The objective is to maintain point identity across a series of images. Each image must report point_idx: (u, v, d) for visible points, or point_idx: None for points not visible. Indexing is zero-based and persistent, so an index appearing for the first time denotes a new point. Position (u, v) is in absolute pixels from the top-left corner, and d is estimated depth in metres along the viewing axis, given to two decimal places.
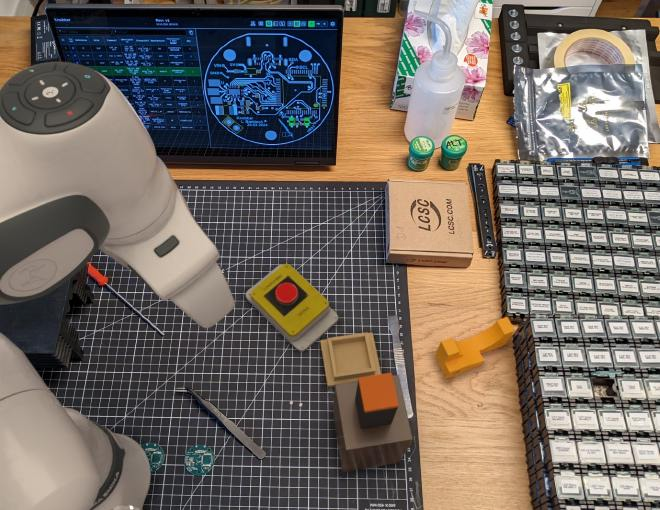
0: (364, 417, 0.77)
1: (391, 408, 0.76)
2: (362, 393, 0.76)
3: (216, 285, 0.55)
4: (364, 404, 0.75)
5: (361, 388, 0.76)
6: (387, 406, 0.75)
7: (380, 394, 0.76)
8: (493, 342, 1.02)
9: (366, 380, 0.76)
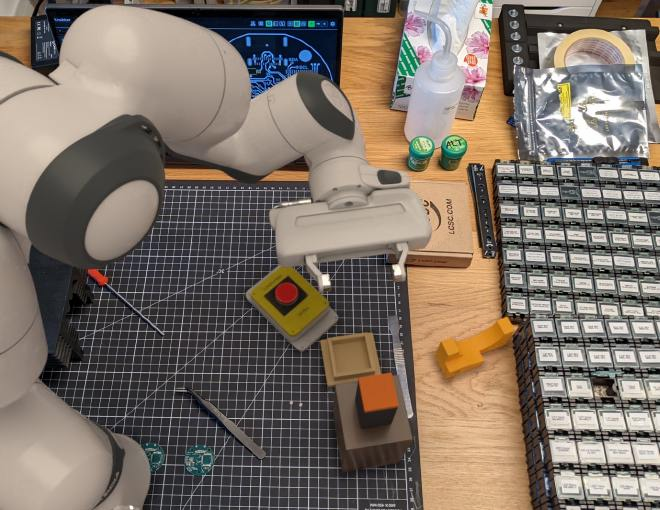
0: (364, 417, 0.77)
1: (391, 408, 0.76)
2: (362, 393, 0.76)
3: None
4: (364, 404, 0.75)
5: (361, 388, 0.76)
6: (387, 406, 0.75)
7: (380, 394, 0.76)
8: (493, 342, 1.02)
9: (366, 380, 0.76)
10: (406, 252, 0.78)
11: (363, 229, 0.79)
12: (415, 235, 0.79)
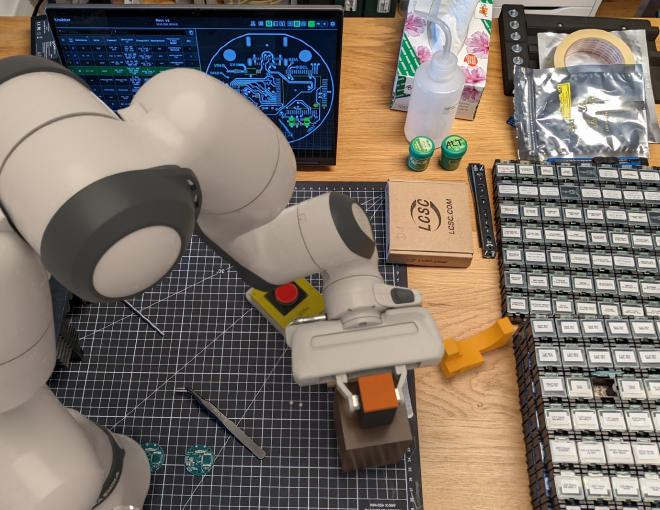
0: (364, 417, 0.77)
1: (391, 408, 0.76)
2: (362, 393, 0.76)
3: None
4: (364, 404, 0.75)
5: (361, 388, 0.76)
6: (387, 406, 0.75)
7: (379, 394, 0.76)
8: (493, 342, 1.02)
9: (366, 380, 0.76)
10: (404, 376, 0.80)
11: (377, 349, 0.81)
12: (428, 356, 0.80)
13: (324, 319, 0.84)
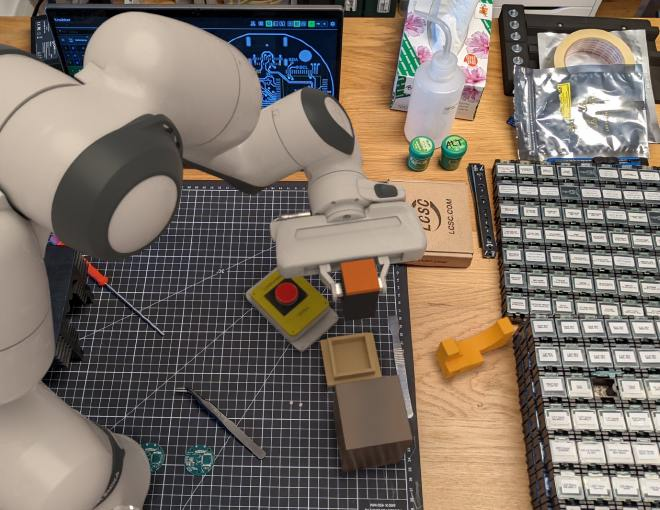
0: (347, 303, 0.78)
1: (373, 291, 0.77)
2: (344, 277, 0.77)
3: None
4: (346, 287, 0.76)
5: (343, 272, 0.77)
6: (369, 288, 0.76)
7: (361, 278, 0.77)
8: (493, 342, 1.02)
9: (348, 265, 0.77)
10: (387, 265, 0.81)
11: (360, 241, 0.82)
12: (411, 247, 0.81)
13: (309, 215, 0.85)
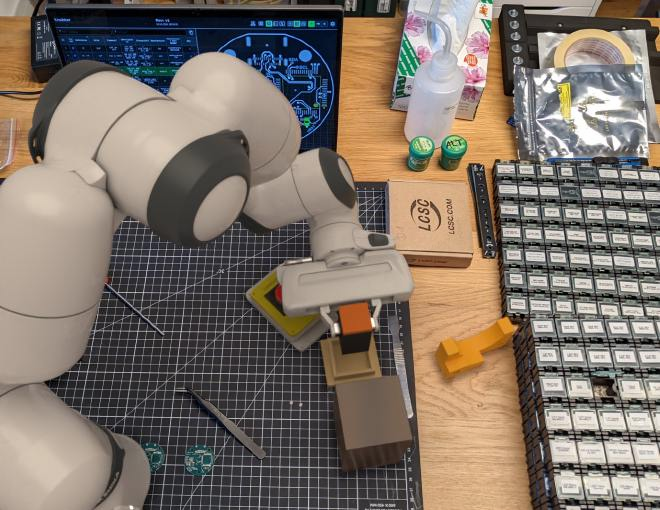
0: (344, 341, 0.90)
1: (366, 332, 0.88)
2: (341, 319, 0.88)
3: None
4: (343, 328, 0.88)
5: (341, 315, 0.88)
6: (363, 329, 0.87)
7: (356, 319, 0.88)
8: (493, 342, 1.02)
9: (345, 308, 0.89)
10: (379, 307, 0.92)
11: (356, 285, 0.93)
12: (400, 291, 0.93)
13: (310, 261, 0.97)
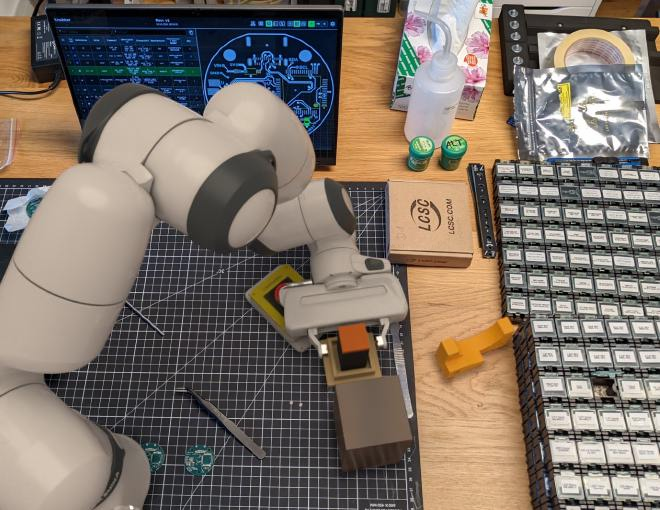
0: (343, 359, 0.97)
1: (364, 350, 0.95)
2: (341, 338, 0.95)
3: None
4: (342, 347, 0.94)
5: (340, 335, 0.95)
6: (360, 348, 0.94)
7: (355, 339, 0.95)
8: (493, 342, 1.02)
9: (344, 329, 0.96)
10: (387, 326, 0.99)
11: (353, 307, 1.00)
12: (394, 312, 1.00)
13: (311, 284, 1.03)
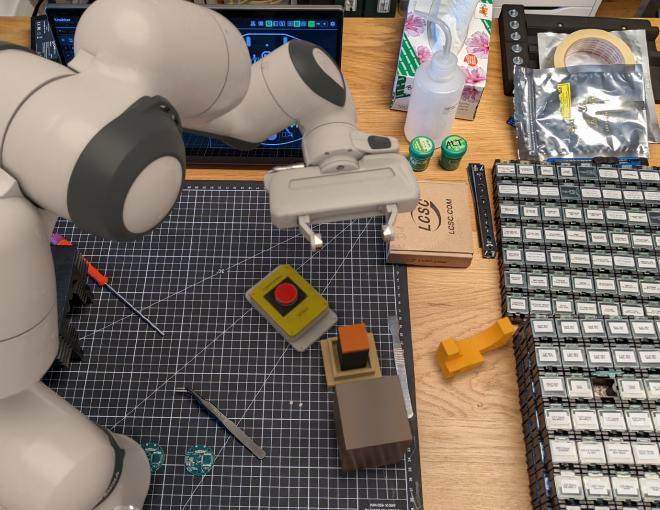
0: (343, 359, 0.97)
1: (364, 350, 0.95)
2: (341, 338, 0.95)
3: None
4: (342, 347, 0.94)
5: (340, 335, 0.95)
6: (360, 348, 0.94)
7: (355, 339, 0.95)
8: (493, 342, 1.02)
9: (344, 329, 0.96)
10: (395, 213, 0.81)
11: (354, 191, 0.82)
12: (404, 197, 0.82)
13: (302, 167, 0.86)
